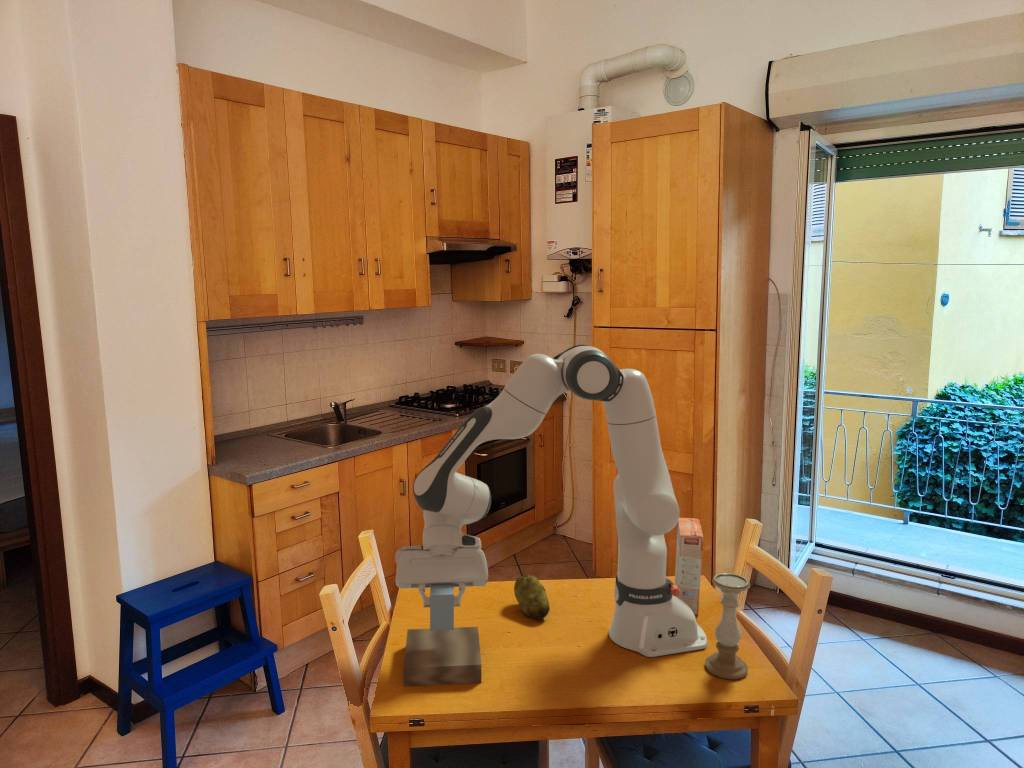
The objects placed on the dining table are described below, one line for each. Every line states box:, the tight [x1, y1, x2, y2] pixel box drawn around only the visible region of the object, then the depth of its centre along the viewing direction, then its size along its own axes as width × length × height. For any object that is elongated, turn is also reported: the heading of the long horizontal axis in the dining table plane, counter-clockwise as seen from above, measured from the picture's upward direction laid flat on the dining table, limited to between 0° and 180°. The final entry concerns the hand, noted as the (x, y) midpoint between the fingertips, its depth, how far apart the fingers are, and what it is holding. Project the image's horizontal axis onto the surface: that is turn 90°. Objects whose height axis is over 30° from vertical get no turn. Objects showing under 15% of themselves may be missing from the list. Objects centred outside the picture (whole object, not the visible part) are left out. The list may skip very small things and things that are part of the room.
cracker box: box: [673, 517, 704, 616], centre depth 179 cm, size 14×6×21 cm, turn 168°
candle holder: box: [704, 572, 751, 680], centre depth 149 cm, size 9×9×20 cm
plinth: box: [402, 626, 482, 687], centre depth 151 cm, size 16×16×4 cm
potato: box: [513, 574, 551, 620], centre depth 175 cm, size 8×13×8 cm, turn 4°
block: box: [429, 584, 455, 631], centre depth 149 cm, size 5×5×8 cm
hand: (442, 606), depth 149 cm, fingers closed on block, 5 cm apart
